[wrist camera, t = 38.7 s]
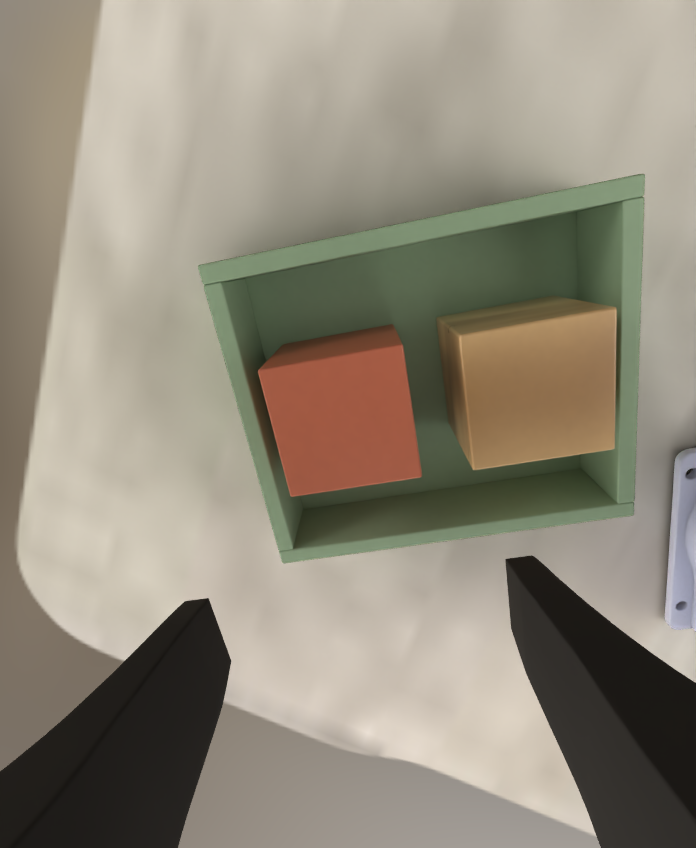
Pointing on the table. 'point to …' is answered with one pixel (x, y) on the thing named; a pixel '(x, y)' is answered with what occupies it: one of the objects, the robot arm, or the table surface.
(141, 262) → the table surface
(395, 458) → the terracotta block
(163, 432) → the table surface
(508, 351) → the beech block
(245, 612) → the table surface
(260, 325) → the bin
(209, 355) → the table surface
